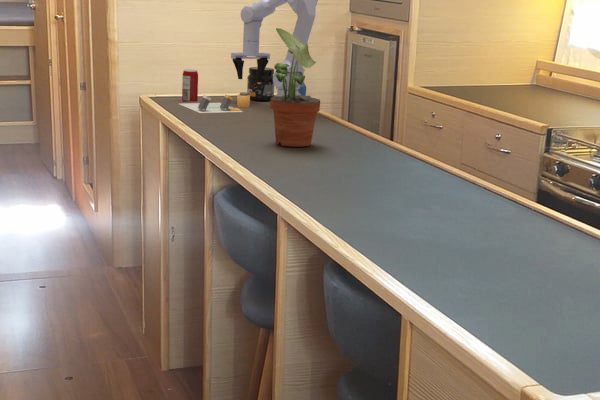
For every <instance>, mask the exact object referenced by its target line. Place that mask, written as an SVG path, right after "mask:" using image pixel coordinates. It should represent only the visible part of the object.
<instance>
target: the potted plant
mask: <svg viewBox="0 0 600 400" xmlns="http://www.w3.org/2000/svg"><path fill="white" fill-rule="evenodd" d="M275 29H276V32H277V34H278V36H279V37H280V39H281V40H282V41H283V43H284V44H285V45H286V47H287V48H288V49H290V50H292V51H290V50H288V49H287V52H288V51H289V52H290V53H291V54H294V55H295V57H296V59H297V61H298V62H299V63H300V65H302V66H303V68H304V69H308V68H310V69H311V68H312V67H313V66H314V65H315V64H316V62H317V61H315V60H314V59H313V58H312V56H311V55H310V51H309V43H307V45H305V46H304V44H302V43H301V42H300V41H299V40H298V39H297V38H295V37H294V36H293V33H292V34H291V33H290V32H289V31H287V30H285V29H282V28H279V27H278V28H275ZM293 61H294V56H293ZM293 61H292V66H291V71H290V72H288V71H287V67H288V66H289V65H288V64H283V65H282V62H277V63H275V65H274V68H273V69H274V70H275V71H276V72H277V74H276V78H277V79H278V81H279V82H282V80H283V90H284V96H277V95H275V96H274V97H271V99H270V101H269V102H270V109H271V110H272V111H273V121H274V123H273V124H274V135H275V143H276V144H277V146H278V145H280V146H282V147H296V148H299V147H308V146H311V145H312V140H313V134H314V129H315V124H316V119H317V114H318V112H320V109H321V99H320V98H315V97H312V96H311V95H306V96H304V95H295V90H296V81H297V83H298V84H301V85H302V83H303V82H304V81H305V78H306V76H305V75H304V76H303V75H297V71H298V62H297V61H296V64H297V71H296V76H295V75H294V73H295V68H296V64H295V67H294V71H293V75H292V69H293ZM287 73H290V78H289V86H288V95H287V81H286V78H285V77H286V76H287ZM291 78H292V81H291ZM284 80H285V83H284ZM293 80H294V83H293ZM285 84H286V89H285Z"/></svg>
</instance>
